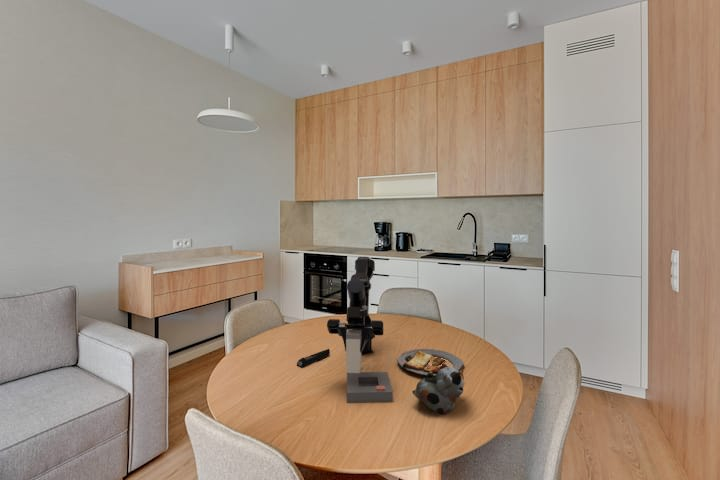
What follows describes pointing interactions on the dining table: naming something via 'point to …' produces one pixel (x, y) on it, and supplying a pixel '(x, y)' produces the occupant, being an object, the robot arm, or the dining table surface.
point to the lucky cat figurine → (440, 389)
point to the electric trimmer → (313, 358)
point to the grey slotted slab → (368, 387)
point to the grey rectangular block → (353, 351)
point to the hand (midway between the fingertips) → (353, 351)
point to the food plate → (427, 361)
